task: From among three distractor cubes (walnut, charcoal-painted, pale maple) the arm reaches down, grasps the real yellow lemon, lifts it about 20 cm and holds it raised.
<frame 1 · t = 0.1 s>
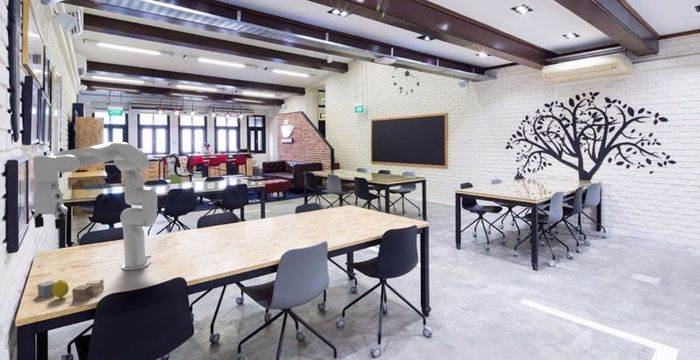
hand: (49, 227, 153), 31 cm above the table, fingers open, 9 cm apart
charcoal cube: (48, 294, 162), on the table
maple cube: (95, 291, 166), on the table
lemon: (61, 298, 159), on the table
walnut cube: (83, 298, 159), on the table
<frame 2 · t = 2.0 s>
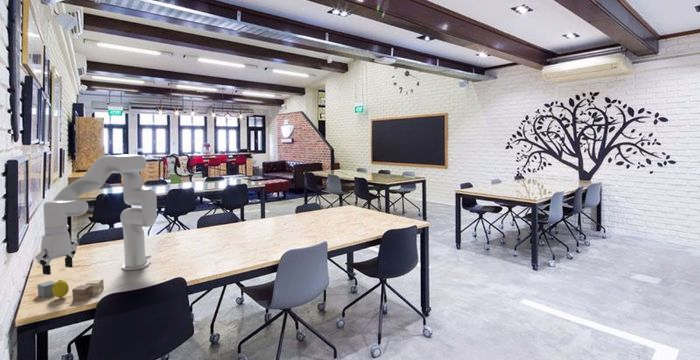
hand: (58, 270, 157), 12 cm above the table, fingers open, 9 cm apart
nothing on the table moved.
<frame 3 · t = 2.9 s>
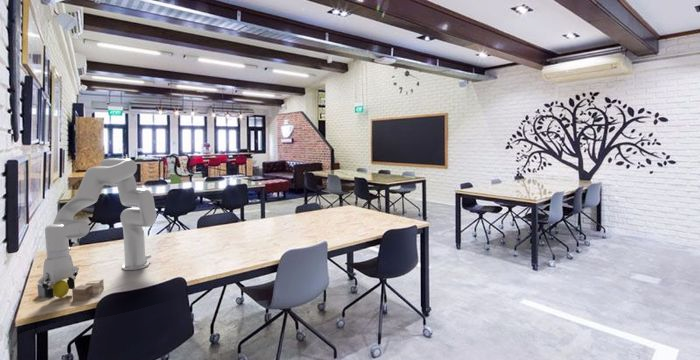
hand: (60, 293, 158), 2 cm above the table, fingers open, 9 cm apart
nothing on the table moved.
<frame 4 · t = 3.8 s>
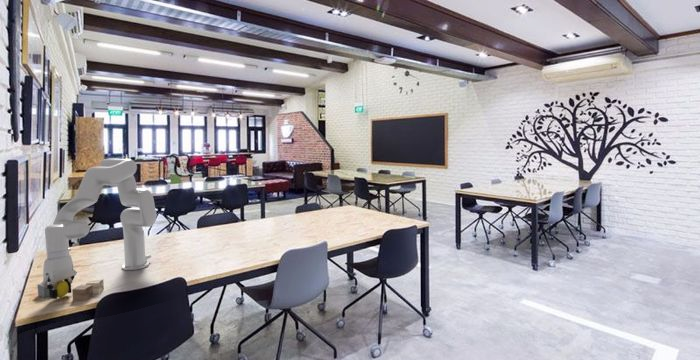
hand: (60, 295, 159), 1 cm above the table, fingers closed on lemon, 5 cm apart
lemon: (61, 298, 159), on the table, touching gripper
everything else where it was.
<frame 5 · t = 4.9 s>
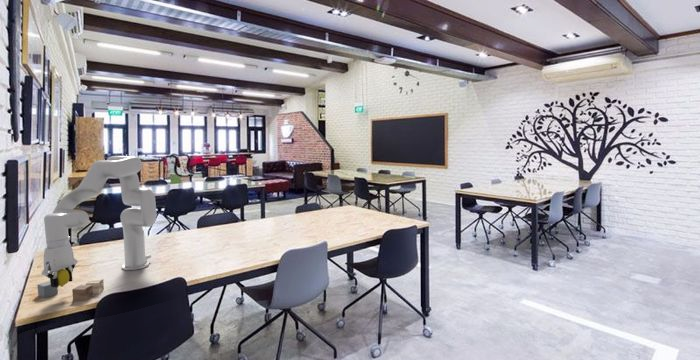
hand: (61, 283, 159), 6 cm above the table, fingers closed on lemon, 5 cm apart
lemon: (62, 287, 159), point 5 cm above the table, touching gripper
everything else where it was.
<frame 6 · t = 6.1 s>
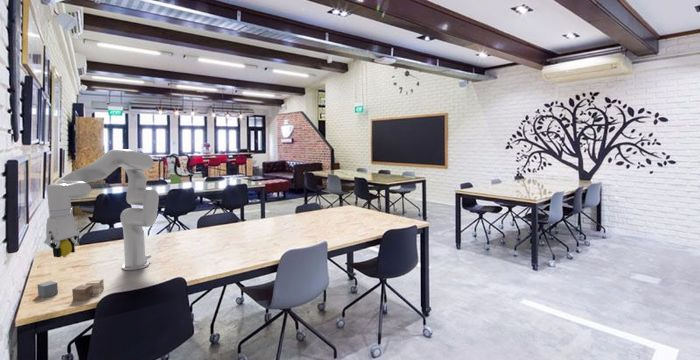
hand: (64, 254, 160), 18 cm above the table, fingers closed on lemon, 5 cm apart
lemon: (64, 257, 160), point 17 cm above the table, touching gripper
everything else where it was.
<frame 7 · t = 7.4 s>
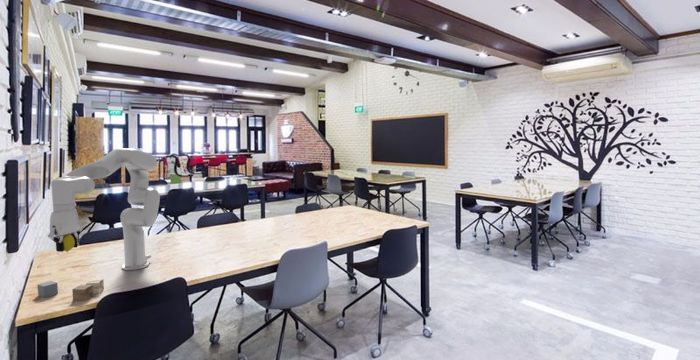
hand: (67, 248, 161), 20 cm above the table, fingers closed on lemon, 5 cm apart
lemon: (67, 252, 161), point 19 cm above the table, touching gripper
everything else where it was.
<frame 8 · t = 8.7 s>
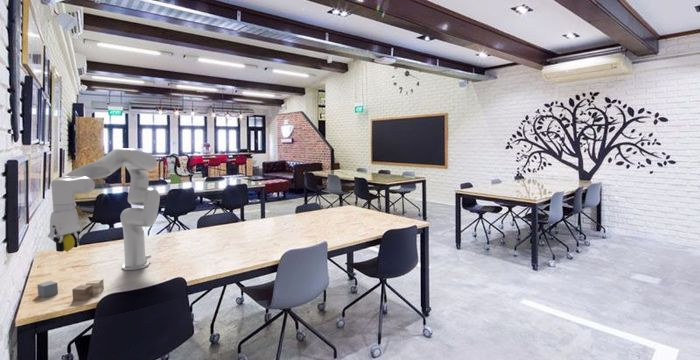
hand: (67, 248, 161), 20 cm above the table, fingers closed on lemon, 5 cm apart
lemon: (67, 252, 161), point 19 cm above the table, touching gripper
everything else where it was.
at the end: the gripper is holding lemon; lemon point 18.8 cm above the table; walnut cube moved 0.1 cm from its start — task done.
